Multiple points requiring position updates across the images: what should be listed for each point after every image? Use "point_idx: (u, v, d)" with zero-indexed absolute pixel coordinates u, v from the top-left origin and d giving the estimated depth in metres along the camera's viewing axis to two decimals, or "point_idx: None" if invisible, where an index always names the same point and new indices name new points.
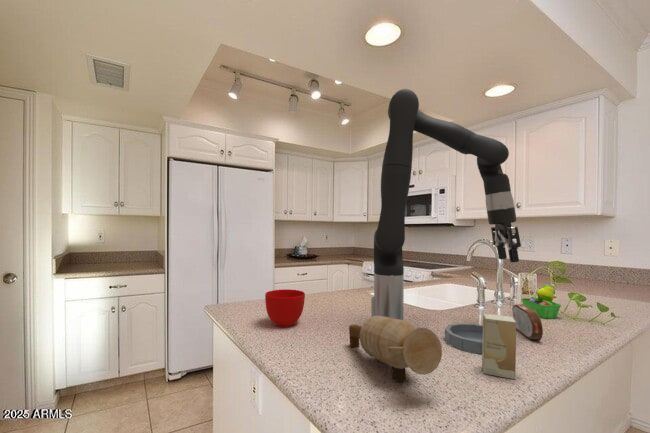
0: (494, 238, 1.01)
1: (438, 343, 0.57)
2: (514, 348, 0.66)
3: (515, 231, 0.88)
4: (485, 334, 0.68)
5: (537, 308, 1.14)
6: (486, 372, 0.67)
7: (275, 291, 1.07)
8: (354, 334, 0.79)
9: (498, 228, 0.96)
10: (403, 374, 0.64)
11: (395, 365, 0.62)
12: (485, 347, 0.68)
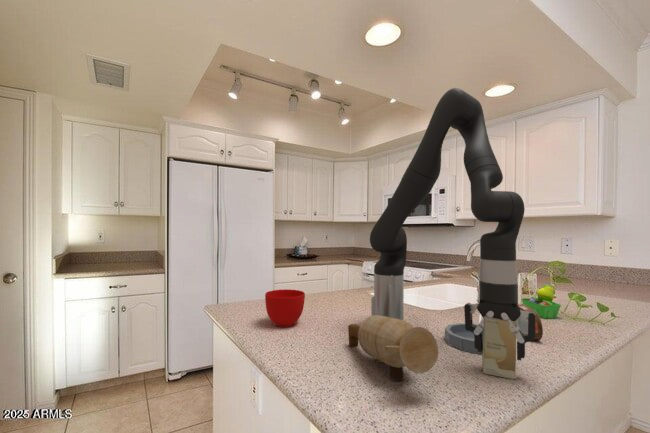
0: None
1: (434, 342, 0.58)
2: (514, 348, 0.66)
3: None
4: (485, 334, 0.68)
5: (537, 308, 1.14)
6: (486, 372, 0.67)
7: (275, 291, 1.07)
8: (353, 333, 0.80)
9: None
10: (400, 373, 0.64)
11: (392, 364, 0.63)
12: (485, 347, 0.68)
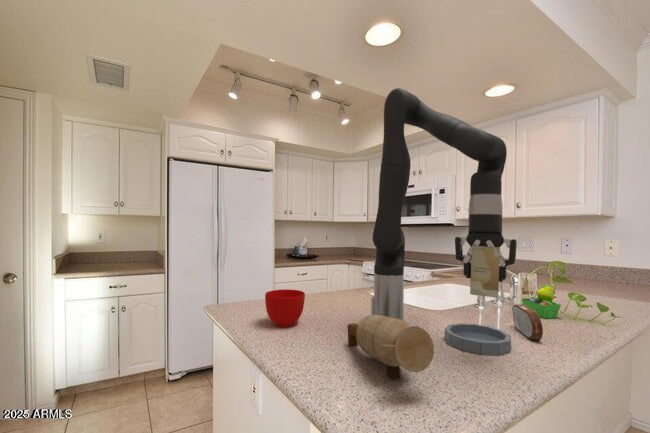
0: None
1: (430, 341, 0.58)
2: (497, 270, 0.74)
3: None
4: (472, 260, 0.77)
5: (537, 308, 1.14)
6: (472, 293, 0.76)
7: (275, 291, 1.07)
8: (352, 332, 0.81)
9: None
10: (397, 372, 0.65)
11: (389, 363, 0.63)
12: (472, 271, 0.77)
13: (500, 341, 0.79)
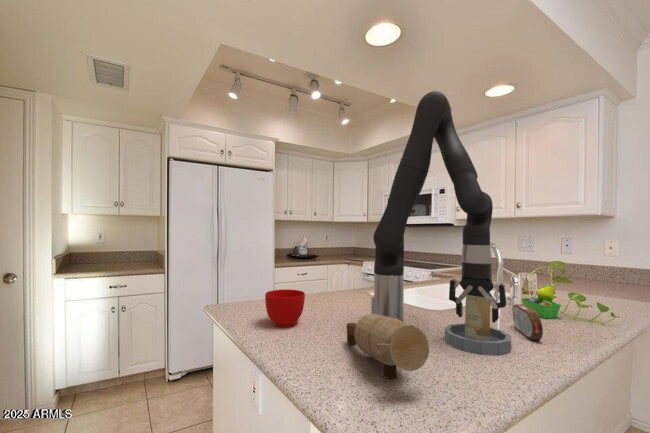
0: None
1: (425, 341, 0.59)
2: (488, 319, 0.84)
3: None
4: (466, 308, 0.86)
5: (537, 308, 1.14)
6: None
7: (275, 291, 1.07)
8: (350, 332, 0.81)
9: None
10: (394, 371, 0.65)
11: (385, 362, 0.64)
12: (466, 318, 0.86)
13: (500, 341, 0.79)
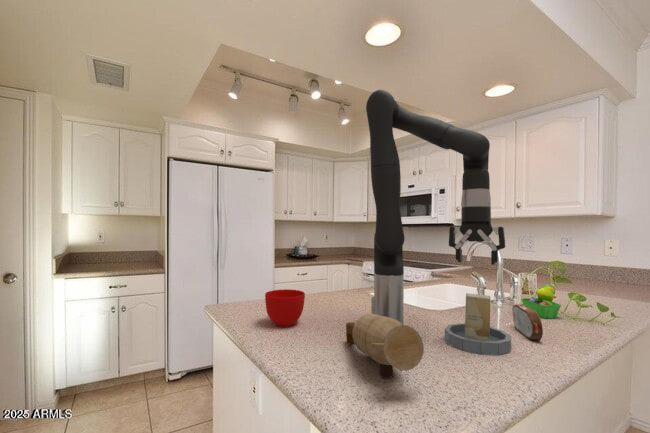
0: None
1: (420, 340, 0.59)
2: (488, 319, 0.84)
3: None
4: (466, 308, 0.86)
5: (537, 308, 1.14)
6: None
7: (275, 291, 1.07)
8: (349, 331, 0.82)
9: None
10: (390, 370, 0.65)
11: (381, 361, 0.64)
12: (466, 319, 0.86)
13: (500, 341, 0.79)
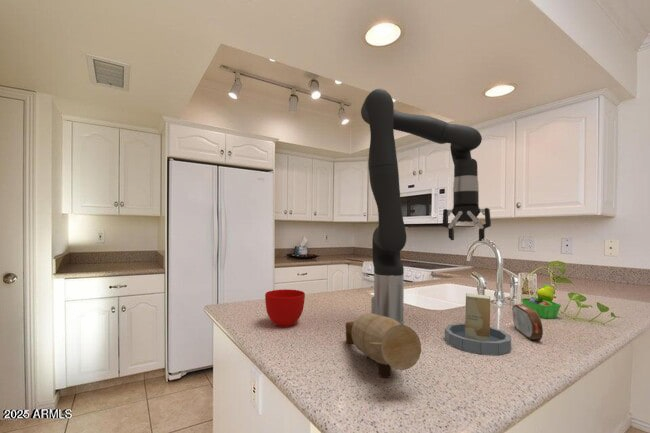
0: None
1: (417, 340, 0.59)
2: (488, 319, 0.84)
3: None
4: (466, 308, 0.86)
5: (537, 308, 1.14)
6: None
7: (275, 291, 1.07)
8: (349, 331, 0.82)
9: None
10: (388, 370, 0.66)
11: (379, 361, 0.64)
12: (466, 319, 0.86)
13: (500, 341, 0.79)
